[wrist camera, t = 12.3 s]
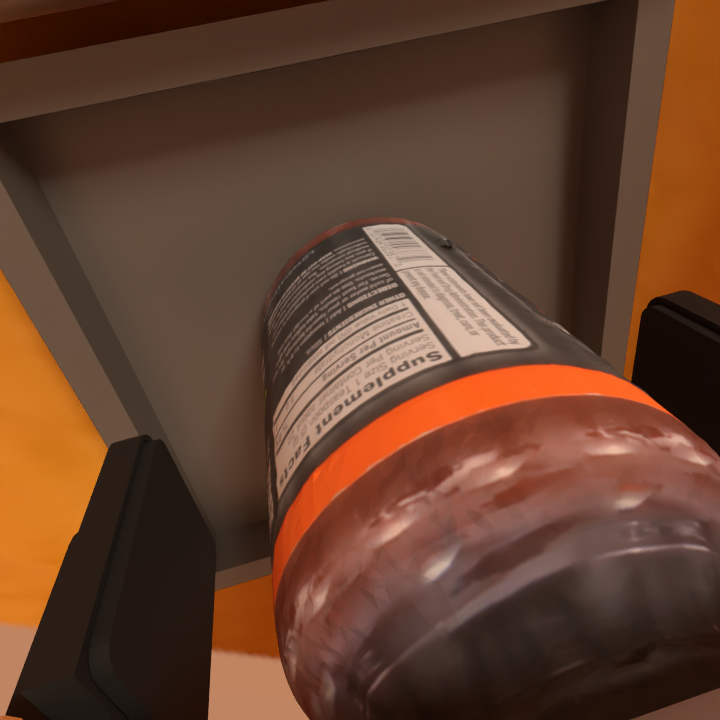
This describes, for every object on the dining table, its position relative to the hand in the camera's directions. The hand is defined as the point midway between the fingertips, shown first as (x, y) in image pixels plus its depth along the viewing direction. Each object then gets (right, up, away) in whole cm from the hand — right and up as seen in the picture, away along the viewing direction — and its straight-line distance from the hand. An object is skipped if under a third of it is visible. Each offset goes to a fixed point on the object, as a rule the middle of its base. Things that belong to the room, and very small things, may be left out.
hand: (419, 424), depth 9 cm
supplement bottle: (-1, +2, +4) cm, 5 cm away
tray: (-1, +3, +4) cm, 5 cm away
